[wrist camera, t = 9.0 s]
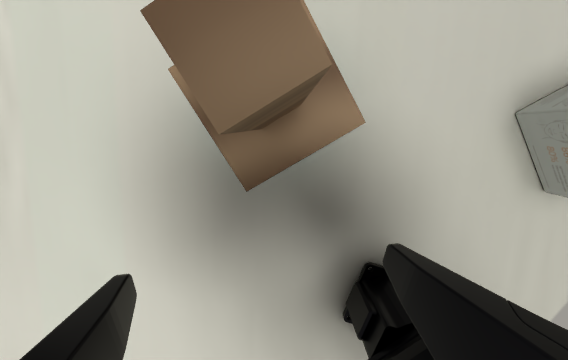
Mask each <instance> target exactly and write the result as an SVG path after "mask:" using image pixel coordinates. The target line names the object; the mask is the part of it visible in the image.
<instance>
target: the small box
mask: <svg viewBox="0 0 568 360" xmlns="http://www.w3.org/2000/svg"><path fill="white" fill-rule="evenodd" d="M516 117H517V119H518V122H519V124H520V127H521V130H522V132H523V135H524V137H525V140H526V143H527V146H528V148H529V151H530V154H531V156H532V159H533V162H534V164H535V167H536V170H537V172H538V175H539V177H540V180H541V183H542V185H543V188H544V191H545V192H547V193H551V194H555V195H559V196H563V197H567V198H568V86H566V87H564V88H562V89H560V90H558V91H556V92H554V93H552V94H550V95H548V96H547V97H545V98H543V99H541V100H539V101H537V102H535V103H533V104H532V105H530V106H528V107H526V108H524V109H522V110H520V111H518V112H517V113H516Z"/></svg>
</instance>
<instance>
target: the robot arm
mask: <svg viewBox="0 0 568 360" xmlns="http://www.w3.org/2000/svg"><path fill="white" fill-rule="evenodd" d="M369 267H372V268H371V269H370V270H368V268H369ZM136 297H137V294H136V289H135V286H134V282H133V279H132V276H131V275H130V274H122V275H116V276H114V277H113V278H111V279H110V280H109V281H108V282H107V283H106V284H105V285H104V286H102V287H101V288H100V289H99V290H98V291H97V292H96V293H95V294H93V295H92V296H91V297H90V298H89V299H88V300H87V301H85V302H84V303H83V304H82V305H81V306H80V307H79V308H78V309H76V310H75V311H74V312H73V313H72V314H71V315H70V316H68V317H67V318H66V319H65V320H64V321H63V322H62V323H61V324H59V325H58V326H57V327H56V328H55V329H54V330H53V331H52V332H50V333H49V334H48V335H47V336H46V337H45V338H44V339H42V340H41V341H40V342H39V343H38V344H37V345H36V346H35V347H33V348H32V349H31V350H30V351H29V352H28V353H27V354H25V355H24V356H23V357H22V358H21V359H20V360H123V357H124V353H125V350H126V345H127V341H128V336H129V331H130V327H131V322H132V317H133V313H134V308H135V303H136ZM347 316H350V317H347ZM343 318H344V321H345V322H348V323H351V324H353V326H354V329H355V332H356V334H357V337H358V339H359V340H362V341H363V343H364V346H365V349H366V352H367V354H368V357H369V359H368V360H568V330H567V329H565V328H562V327H560V326H558V325H556V324H554V323H552V322H550V321H548V320H546V319H544V318H542V317H540V316H538V315H536V314H534V313H532V312H530V311H528V310H526V309H524V308H522V307H520V306H518V305H516V304H514V303H512V302H510V301H508V300H506V299H505V298H503V297H501V296H499V295H497V294H495V293H493V292H491V291H489V290H487V289H485V288H483V287H482V286H480V285H478V284H476V283H474V282H472V281H470V280H468V279H466V278H464V277H462V276H460V275H459V274H457V273H455V272H453V271H451V270H449V269H447V268H445V267H443V266H441V265H439V264H437V263H435V262H434V261H432V260H430V259H428V258H426V257H424V256H422V255H420V254H418V253H416V252H414V251H412V250H411V249H409V248H407V247H405V246H403V245H401V244H398V243H396V244H389V245H388V246H387V248H386V251H385V255H384V258H383V266H381V265H377V264H374V263H370V262H369V263H366V264H365V265H364V267H363V270H362V272H361V274H360V276H359V279H358V281H357V282H355V284H354V286H353V288H352V291H351V293H350V295H349V297H348V300H347V302H346V308H345V310H344V313H343Z"/></svg>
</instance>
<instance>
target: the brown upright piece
mask: <svg viewBox="0 0 568 360" xmlns="http://www.w3.org/2000/svg"><path fill="white" fill-rule="evenodd" d="M140 11H141V13H142V14H143V16H144V17H145V19H146V21H147V22H148V24H149V25H150V27H151V28H152V30H153V32H154V33H155V35H156V36H157V38H158V40H159V41H160V43H161V44H162V46H163V47H164V49H165V51H166V52H167V54H168V55H169V57H170V58H171V60H172V62H173V63H174V66H172V67H171V68H169V69H168V70H169V72H170V73H171V75H172V76H173V78H174V79H175V81H176V83H177V84H178V86H179V87H180V89H181V90H182V92H183V93H184V95H185V97H186V98H187V100H188V101H189V103H190V104H191V106H192V107H193V109H194V111H195V112H196V114H197V115H198V117H199V118H200V120H201V122H202V123H203V125H204V126H205V128H206V129H207V131H208V132H209V134H210V136H211V137H212V139H213V140H214V142H215V143H216V145H217V146H218V148H219V150H220V151H221V153H222V154H223V156H224V157H225V159H226V160H227V162H228V164H229V165H230V167H231V168H232V170H233V171H234V173H235V174H236V176H237V178H238V179H239V181H240V182H241V184H242V185H243V187H244V188H245V190H246V192H247V191H249V190H250V189H252V188H254V187H255V186H257V185H259V184H261V183H262V182H264V181H266V180H268V179H269V178H271V177H273V176H274V175H276V174H278V173H280V172H281V171H283V170H285V169H286V168H288V167H290V166H292V165H293V164H295V163H297V162H299V161H300V160H302V159H304V158H305V157H307V156H309V155H311V154H312V153H314V152H316V151H317V150H319V149H321V148H323V147H324V146H326V145H328V144H329V143H331V142H333V141H335V140H336V139H338V138H340V137H342V136H343V135H345V134H347V133H348V132H350V131H352V130H354V129H355V128H357V127H359V126H360V125H362V124H364V123H366V122H365V120H364V118H363V116H362V114H361V112H360V110H359V108H358V107H357V105H356V103H355V101H354V99H353V97H352V95H351V93H350V91H349V89H348V87H347V85H346V83H345V81H344V79H343V77H342V75H341V73H340V71H339V69H338V67H337V65H336V63H335V61H334V59H333V57H332V55H331V53H330V51H329V49H328V47H327V45H326V43H325V42H324V40H323V38H322V36H321V34H320V32H319V30H318V28H317V26H316V24H315V22H314V20H313V18H312V16H311V14H310V12H309V10H308V8H307V6H306V4H305V2H304V0H154V1H153V2H152V3H150V4H149V5H147V6H146V7H145V8H143V9H142V10H140Z"/></svg>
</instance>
